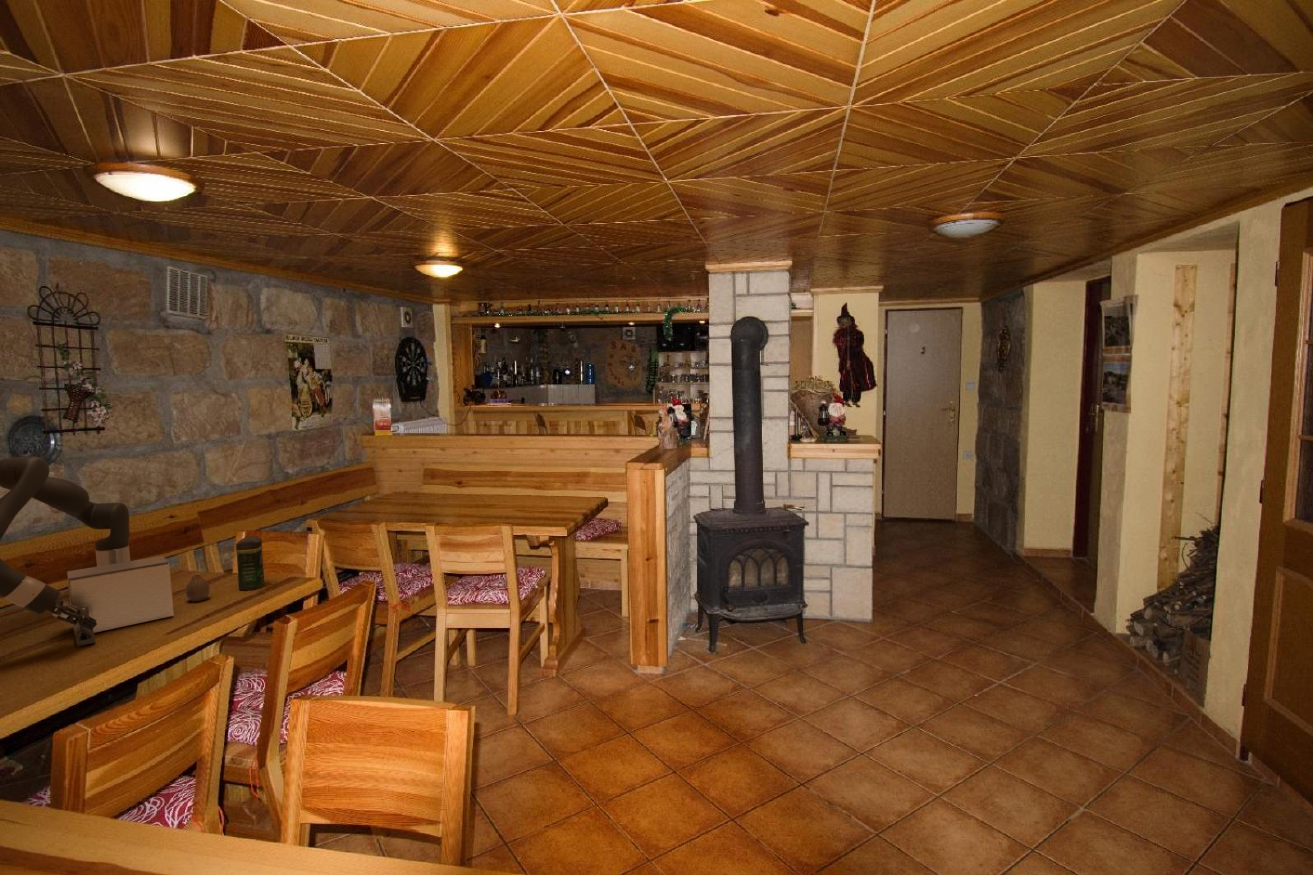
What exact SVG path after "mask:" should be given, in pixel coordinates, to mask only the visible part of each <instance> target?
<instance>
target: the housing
mask: <svg viewBox="0 0 1313 875" xmlns="http://www.w3.org/2000/svg"><path fill="white" fill-rule="evenodd" d="M163 564H169V562H168V560H167V558H165V556H164V555H161V556H155V557H154V556H153V557H148V558H143V559H136V560H130V561H129V562H122V563H116V564H110V565H104V566H98V567H97V566H93V567H88V568H87V567H86V568H80V569H74V570H68V571H66V574H67V582H68V592H69V594H68V595H69V601H70V602H69V603H70V604H72V599H71V589H70V580H75V579H81V578H87V577H93V576H99V575H104V574H110V573H116V572H122V571H128V570H134V569H140V568H146V567H152V566H157V565H163ZM73 620H74V619H73ZM72 629H73V634H74V637H75V628H74V625H73V624H72Z"/></svg>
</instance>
